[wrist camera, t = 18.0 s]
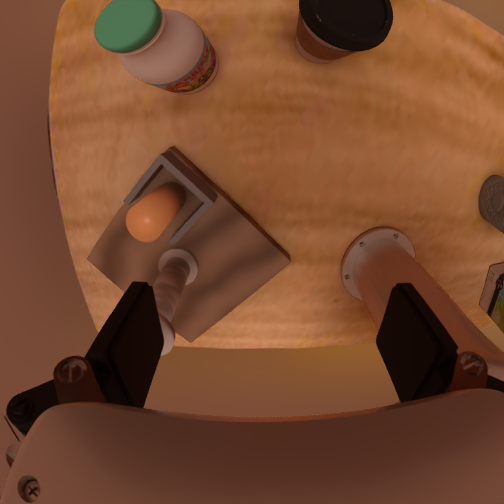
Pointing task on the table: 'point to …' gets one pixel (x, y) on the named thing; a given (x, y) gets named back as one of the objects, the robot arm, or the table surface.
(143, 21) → the milk bottle
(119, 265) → the board
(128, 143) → the table surface
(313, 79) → the table surface
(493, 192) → the grey green embossed cup
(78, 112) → the table surface
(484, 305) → the tea box
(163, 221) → the plug
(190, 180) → the notch block
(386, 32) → the coffee cup
